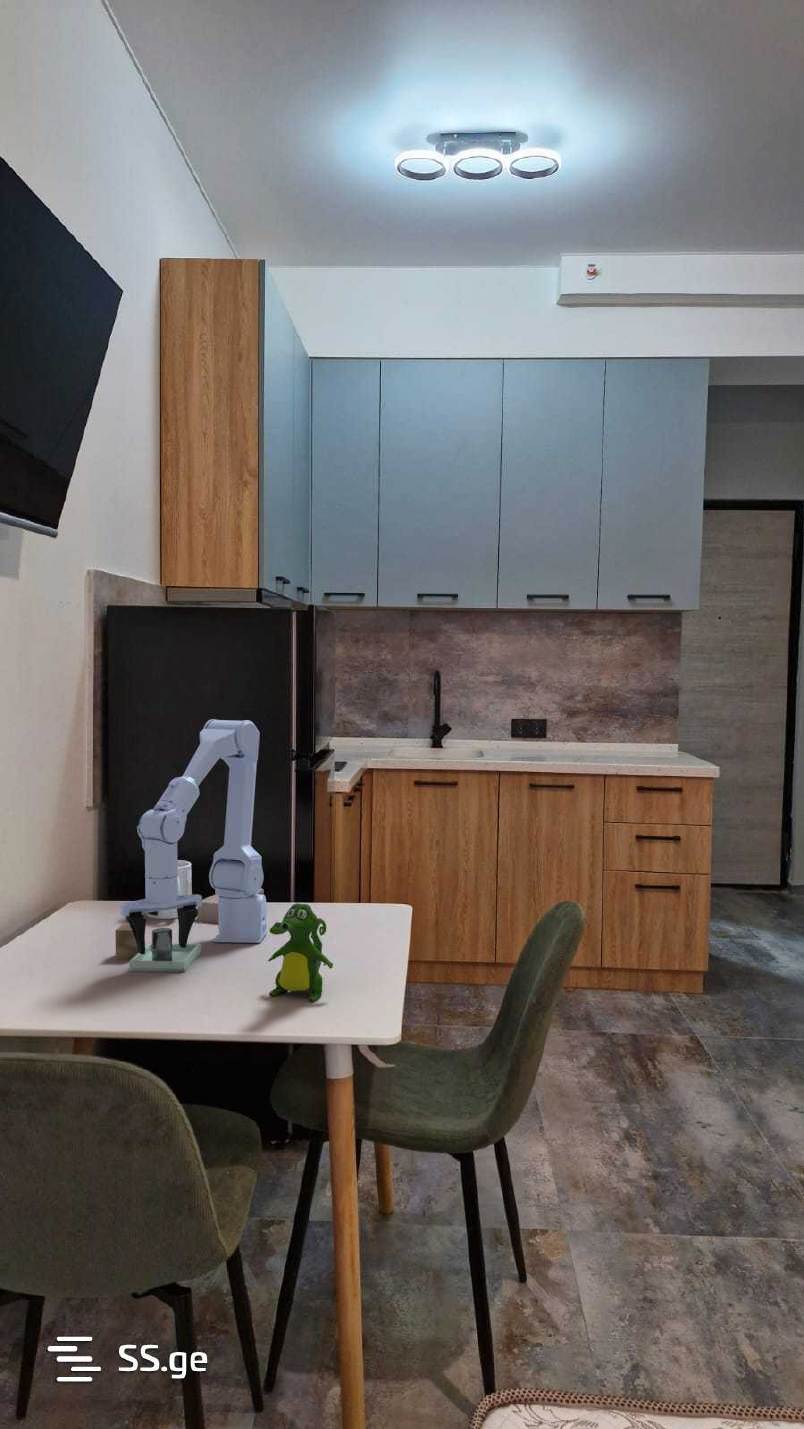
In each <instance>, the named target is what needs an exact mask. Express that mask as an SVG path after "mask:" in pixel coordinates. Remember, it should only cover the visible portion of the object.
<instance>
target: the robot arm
mask: <svg viewBox="0 0 804 1429" xmlns="http://www.w3.org/2000/svg"><path fill="white" fill-rule="evenodd" d="M259 748H260V731H259V729H258V728H257V726H256V725H255V723H254V722H253V721H251V720H247V719H246V720H245V719H244V720H224V719H222V720H221V719H216V718H213V719H209V720H207V722H206V723H205V724H204V726H203V728H202V730H201V731H200V732H199V745H198V747H197V749H196V751H195V752H194V754H193V756H192V758H191V760H190V762H189V763H188V766H187V767H186V769H185V771H184V773H183V775H182V776H179V777H174V778H173V779H172V780H170V782H169V783H168V786H167V788H166V789H165V791H164V792H163V793H162V795H161V796H160V798H159V800H158V801H157V802H156V804H155V805H154V808H152V809H149V810H147V811H146V812H145V813H143V815H141V817H140V818H139V819H140V820H139V824H138V826H136V829H137V830H136V831H137V835H138V837H139V838H140V840H141V847H142V848H143V850H144V871H145V873H144V878H145V890H144V891H145V892H144V893H145V894H144V895H145V898H143V899H139V900H134V901H129V902H122V903H120V905H119V906H120V915H121V916H123V917H124V918H126V921H127V922H128V925H130V927H131V929H132V931H133V934H134V937H135V940H136V944H137V949H138V952H139V953H140V954H145V947H146V939H145V938H146V937H145V935H146V925H147V924H146V923H147V919H146V918H145V916H144V914H145V913H147V912H155V911H162V910H170V909H177V914H178V918H177V921H178V944H179V946H180V947H182V948H186V945H187V944H188V939H189V935H190V932H191V930H192V927H193V924H194V923H195V921H196V919H197V915H198V907H201V906H202V900H203V897H202V895H201V894H192V895H179V896H178V873H177V860H178V841H179V840H180V839H181V838H182V837H183V835H184V833H185V828H186V822H187V818H188V817H187V815H188V814H189V812H190V810H191V809H192V808H193V806H194V804H196V801H197V800H198V798H199V796H200V788H199V786H200V784H201V783H202V782H203V780H204V779H205V778H206V776H207V775H208V773H209V772H210V771H211V770H212V769H213V767H214V766H215V765H216V763H217V762H218V761H219V760H220V759H221V760H223V761H224V762H225V763H226V765H227V766H228V768H229V770H228V785H227V801H226V812H225V813H226V814H225V828H224V841H223V846H221V847H220V848H219V849H218V850H217V851H215V852H214V853H213V860H212V864H211V867H210V869H209V873H208V879H209V881H208V882H209V884H210V886H211V888H212V889H214V890H215V892H214V893H215V894H214V895H216V894H218V932H217V935H216V936H215V937H214V938H213V939H212V942H213V943H242V944H243V943H253V944H255V943H256V944H258V943H261V942H262V941H263V940H264V938H265V936H266V935H267V933H268V931H267V898H266V895H265V894H263V895H259V894H258V891H259V889H260V888H261V887H262V886H263V882H264V870H263V865H262V858H263V857H262V856H261V855H260V854H259V853H258V852H257V850H255V849H254V847H252V832H253V822H254V821H253V819H254V806H255V790H256V777H257V764H258V763H257V762H258V760H259ZM261 889H262V888H261Z"/></svg>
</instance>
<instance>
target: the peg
mask: <svg viewBox="0 0 804 1429" xmlns="http://www.w3.org/2000/svg"><path fill="white" fill-rule="evenodd" d="M151 943H152V961H172V943H173V929H172V928H171V927H158V928H154V929H152V930H151Z"/></svg>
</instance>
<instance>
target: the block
mask: <svg viewBox="0 0 804 1429" xmlns="http://www.w3.org/2000/svg"><path fill="white" fill-rule="evenodd" d="M138 953H139V952H138V949H137V944H136V940H135V937H134V934H133V931H132V929H131V927H130V925H129V924H121V925H120V926H119V927H118V928H116V929H115V960H131V959H133V958H134V957H135V956H136V955H137V954H138Z"/></svg>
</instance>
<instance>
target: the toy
mask: <svg viewBox="0 0 804 1429" xmlns="http://www.w3.org/2000/svg"><path fill="white" fill-rule="evenodd" d="M324 920H325V919H322V918H320V917H319V918H318V917H317V914H315V913H314V912H313V910H312V907H311V906H310V905H309V904H306V903H294V904H293V905H291V906H290V908H289V909H288V910H287V912H286V913H285V914H284V917H283V918H282V920H281V922H278V921H277V922H275V923H274V924H273V925H272V927H271V928H269V934H272V935H275V936H277V935H283V934H285V933H286V932H288V933H289V936H290V938H289V940H288V941H287V942H286V943H285V944H283V945H282V946H281V947H280V948H279V949H278V950H277V951H275V952H274V953H272V955H271V956H270V957H269V959H268V960H267V961H268V962H271V961H273V960H276V959H277V958H279V957H280V956H283V959H282V964H281V968H280V969H281V970H279V971H278V972H277V974H276V977H275V982H274V984H275V988H274V989H272V990H270V991H269V993H268V995H269V996H270V997H276V996H277V995H279V994H282V993H283V992H285V991H289V992H294V993H301V992H306V991H310V992H311V993H310V996H309V997H308V1001H309V1002H315V1001H316V1000H317V999H318V998H319V997H320V996H321V995H322V994H323V977H322V975H321V974H320V972H319V970H320V967H321V965H322V963H323V966H327V967H328V968H329V970H331V969H332V968H334V967H333V966H334V964H333V962H331V961H330V960H329V959H328V957H327V956H326V955H325V954H323V953H322V952H323V951H322V949H323V943H322V941H321V939H320V936H321V937H322V936H323V935H325V933H326V932H327V924H326V923H327V922H325V921H324ZM318 933H319V935H320V936H319V935H318ZM311 939H312V940H311Z"/></svg>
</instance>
